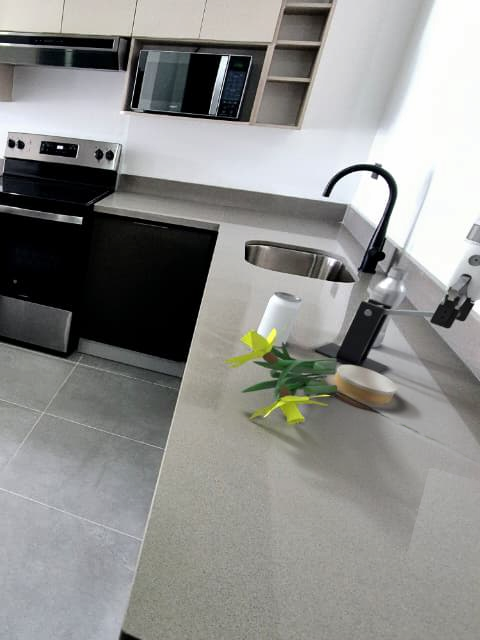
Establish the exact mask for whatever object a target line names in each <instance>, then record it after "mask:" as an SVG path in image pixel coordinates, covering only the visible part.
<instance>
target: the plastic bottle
mask: <svg viewBox="0 0 480 640" xmlns="http://www.w3.org/2000/svg"><path fill="white" fill-rule="evenodd" d="M409 273H410V272H409V270H406V269H403V268H399V267H394V266H393V267H390V269H389V271H388V273H387V274H386V276H387V277H385V278H383V279H381V280H380V281H378V282H377V283H376V284H375V285H374V286H373V290H372V292H371V296H370V299H373V300H376V301H379V302H382V303H385V304H388V305H391V306H392V308H391V309H393V310H397V308H398V307H399V305H401V303H402V302H403V300H404V298H405V297H406V295H407V289H406V285H405V282H404V281H407V279H408V276H409ZM392 318H393V315H388V317H387V319H386V321H385V323H384V325H383V327H382V329H381V331H380V333H379V335H378V337H377V339H376V341H375V343H374V345H373V347H372V349H373V348H377V347H380V346H381V344H382V343H383V342H384V339H385V336H386V331H387V328H388V326H389V323H390V322H391V319H392Z"/></svg>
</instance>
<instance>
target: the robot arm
mask: <svg viewBox="0 0 480 640" xmlns="http://www.w3.org/2000/svg"><path fill="white" fill-rule="evenodd" d="M464 241H465V242H467V243H468V244H469V245H468V247H467V249H466V251H465V252H464V254H463V256H462V257H461V259H460V261H459V262H458V264H457V266H456V268H455V270H454V271H453V273H452V275H451V277H450V279H449V280H448V283H447V285H446V286H445V287H446V288H445V292H446V294H445V295H444V297H443V298H442V299H441V301H440V303H439V304H438V306H437V307H436V309H435V311H434V312H435V313H434V315H433V317H430V321H429V322H430V323H431V324H433V325H436V326H438V327H441V328H444V329H451V328H452V326H453V324H454V323H455V321H460V322H465V321H466V320H467V318H468V316H469V315H470V313H471V312H472V310H473V308H474V306H475V302H476V301H479V300H480V212H478V214H477V216H476V218H475V221H474V222H473V224H472V225H471V227H470V229H469V231H468V233H467V235H466V237H465V239H464ZM459 312H460V313H461V314H460V316H459V317H457V316H458V314H459ZM456 317H457V318H456Z"/></svg>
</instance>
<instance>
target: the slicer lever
mask: <svg viewBox="0 0 480 640" xmlns="http://www.w3.org/2000/svg"><path fill="white" fill-rule="evenodd" d="M377 306H380V307H383V305H377ZM434 313H435V311H431V310H410V309H396V310H393V309H385V311H384V313H383V314H386V315H392V316H407V317H421V318H422V317H425V318H432V317H433V315H434ZM460 314H461V313H460V312H459V314H458V316H457V317H459V316H460ZM382 316H383V315H382ZM457 317H456V318H457Z"/></svg>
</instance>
